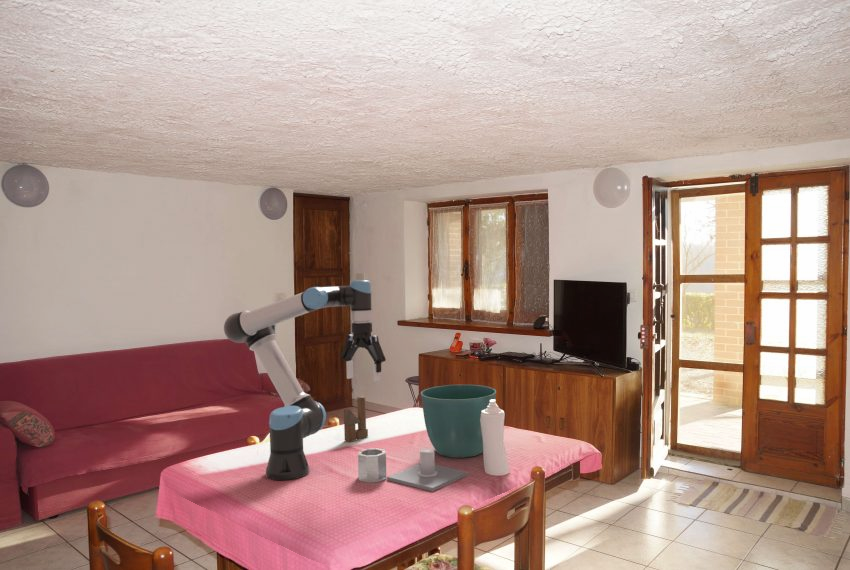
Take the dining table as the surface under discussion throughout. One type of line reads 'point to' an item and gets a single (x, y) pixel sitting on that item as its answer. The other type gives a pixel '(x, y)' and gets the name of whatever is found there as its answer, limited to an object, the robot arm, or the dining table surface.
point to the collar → (372, 465)
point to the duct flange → (427, 474)
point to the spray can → (494, 440)
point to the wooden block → (355, 422)
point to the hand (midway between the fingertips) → (363, 379)
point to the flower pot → (456, 418)
